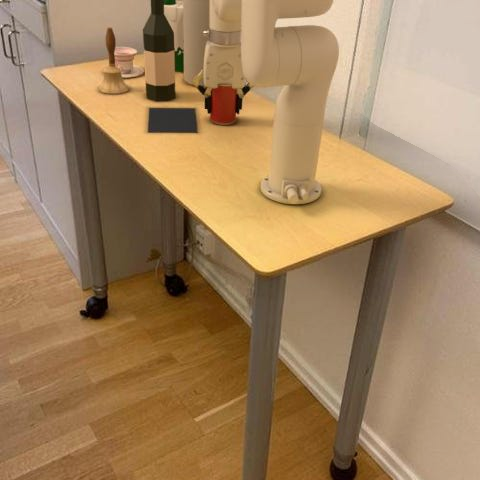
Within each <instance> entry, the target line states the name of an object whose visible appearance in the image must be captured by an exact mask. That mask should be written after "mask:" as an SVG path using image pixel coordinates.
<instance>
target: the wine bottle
mask: <svg viewBox="0 0 480 480" xmlns="http://www.w3.org/2000/svg"><path fill="white" fill-rule="evenodd" d="M142 41H143V61H144V62H143V63H144V78H145V80H144V81H145V96H146V99H147V100H150V101H153V102H169V101H172V100H174V99H176V71H175V58H174V32H173V30H172V28H171V26H170V24H169V22H168V20H167V18H166V17H165V15H164V0H150V15H149V17H148V19H147V20H146V22H145V24H144V26H143V29H142Z"/></svg>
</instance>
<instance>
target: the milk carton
mask: <svg viewBox="0 0 480 480" xmlns="http://www.w3.org/2000/svg"><path fill="white" fill-rule="evenodd" d="M164 15H165V17H166V18H167V20H168V22H169V24H170V26H171V28H172V30H173V32H174V58H175V73H176V72H177V73H184V38H183V0H182V1H181V0H180V1H179V0H178V1H177V0H164Z"/></svg>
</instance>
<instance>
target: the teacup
mask: <svg viewBox="0 0 480 480" xmlns="http://www.w3.org/2000/svg"><path fill="white" fill-rule="evenodd" d="M137 53H138V50H137V49H136V48H133V47H129V46H115V52H114V56H115V66H116V67H117V68H119V69H120V70H121V75H122V78H123V79H130V78H131V79H132V78H136V77H139V76H142V75H143V74H145V68H143V67H141V66H139V65H136V64H134V59H135V56H136V55H137ZM107 67H109V65H108V66H106V67H104V69H103V71H104V70H105V69H106V68H107Z"/></svg>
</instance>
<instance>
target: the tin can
mask: <svg viewBox="0 0 480 480" xmlns="http://www.w3.org/2000/svg"><path fill="white" fill-rule="evenodd" d="M217 85H218V88H212V90H211V92H210V97H211V113H210V114H209V121H210V123H212V124H214V125H218V126H229V125H230V126H231V125H233V124H235V123H236V122H237V114H236V105H237V93H238V92H237V90H236V89H233V88H232V84H217Z"/></svg>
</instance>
